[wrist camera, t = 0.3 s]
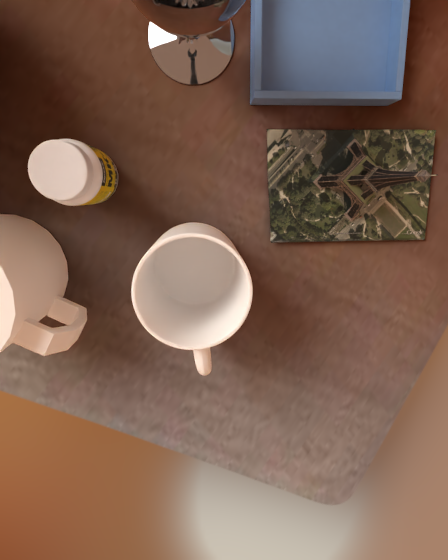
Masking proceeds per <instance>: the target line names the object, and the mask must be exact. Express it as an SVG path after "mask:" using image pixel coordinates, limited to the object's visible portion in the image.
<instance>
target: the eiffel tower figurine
mask: <svg viewBox="0 0 448 560" xmlns="http://www.w3.org/2000/svg"><path fill="white" fill-rule="evenodd" d="M435 133H436V130H388V129H386V130H354V129H353V130H295V129H267V158H268V189H269V204H270V230H271V243H273V242H324V241H369V240H425V231H426V221H427V211H428V202H429V192H430V182H431V176H436V175H438V174H436V175H431V172H432V162H433V152H434V143H435Z"/></svg>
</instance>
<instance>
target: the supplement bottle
mask: <svg viewBox="0 0 448 560" xmlns="http://www.w3.org/2000/svg"><path fill="white" fill-rule="evenodd" d="M28 174H29V177H30V180H31V182H32V184H33V185H34V187H35V188H36V189H37V191H39V192H40V193H41V194H42V195H44V196H45V197H47V198H49V199H52V200H54V201H56V202H58V203H61V204H64V205H68V206H78V205H91V204H98V203H102V202H104V201H106V200H107V199H109V198H110V197H111V196H112V195H113V194H114V192H115V190H116V188H117V185H118V172H117V168H116V166H115V164H114V162H113V161H112V160H111V158H110V157H109V156H108V155H106V154H105V153H104V152H102V151H100V150H98V149H96V148H94V147H92V146H89V145H87V144H85V143H83V142H80V141H77V140H74V139H58V140H48V141H45V142H43V143H41V144H39V145H38V146H37V147H36V148H35V149H34V150H33V152H32V153H31V155H30V158H29V161H28Z"/></svg>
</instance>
